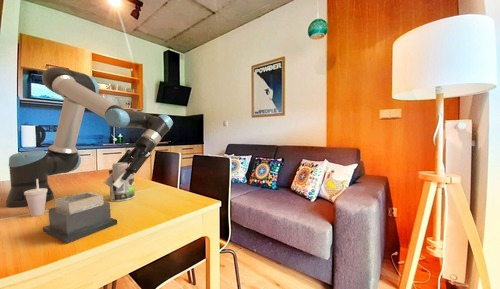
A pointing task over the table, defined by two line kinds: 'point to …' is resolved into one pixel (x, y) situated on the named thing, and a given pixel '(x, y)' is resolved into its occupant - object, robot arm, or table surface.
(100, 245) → the table surface
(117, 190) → the energy drink
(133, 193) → the coffee can
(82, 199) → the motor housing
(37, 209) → the smoothie
